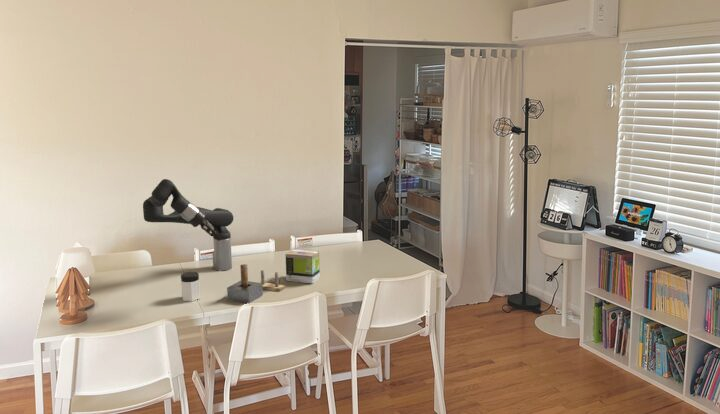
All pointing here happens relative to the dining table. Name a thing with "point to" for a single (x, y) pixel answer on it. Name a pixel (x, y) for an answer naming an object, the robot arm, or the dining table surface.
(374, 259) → the dining table surface
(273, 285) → the peg rack
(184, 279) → the jar
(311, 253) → the tea box
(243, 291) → the block
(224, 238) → the robot arm
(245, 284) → the walnut pin
